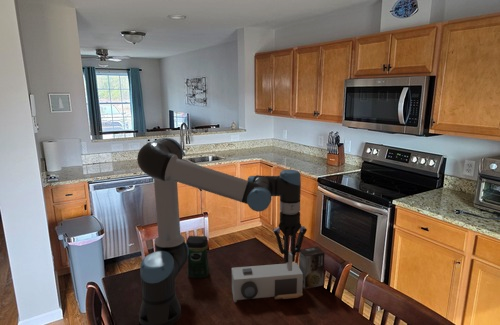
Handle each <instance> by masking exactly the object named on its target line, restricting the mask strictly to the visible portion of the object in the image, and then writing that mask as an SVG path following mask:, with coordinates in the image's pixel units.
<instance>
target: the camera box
mask: <svg viewBox="0 0 500 325" xmlns="http://www.w3.org/2000/svg"><path fill="white" fill-rule="evenodd" d="M231 292H232V298H233V302H234V303H238V301H242V300H253V299H262V298H271V297H272V298H273V297H274V298H275V297H276V296H278V295H286V294H297V293H303V273H302V271H301V270H300V268H299V264H298V263H297V262H292V271H288V269H287V262H285V263H278V264H277V263H276V264H265V265H252V266H251V265H250V266H236V267H231Z"/></svg>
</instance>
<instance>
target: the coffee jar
mask: <svg viewBox="0 0 500 325" xmlns="http://www.w3.org/2000/svg"><path fill="white" fill-rule="evenodd" d="M185 243H186V244H187V245H188V249H189V255H188V258H187V276H188V277H189V278H190V279H204V278H206V277H208V276H209V274H210V267H209V259H208V247H209V241H208V237H207V236H206V235H203V236H202V235H201V236H200V235H189V236H188V237H187V238H186V242H185Z"/></svg>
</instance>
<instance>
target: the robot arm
mask: <svg viewBox="0 0 500 325" xmlns="http://www.w3.org/2000/svg"><path fill="white" fill-rule="evenodd" d="M183 158H184V149H183V148H182V145H181V144H180V142H178V141H177V140H176V139H174V138H171V137H161V138H158V139H156V140H154V141H153V140H152V141H150V142H148V143H146V144H144V145H143V146H142V147H141V148H140V149H139V151H138V153H137V165H138V167H139V169H140V170H141V171H142V172H143V174H145V175H147V176H149V177H150V178H152V179H153V184H154V196H155V197H154V199H155V211H156V212H155V213H156V221H157V222H156V223H157V224H156V225H157V236H158V237H157V238H156V239H155V240H154V248H155V249H154V250H155V251H154V252H152V253H148V254H147V255H146V256H145V257H143V259H142V260H141V262H140V268H139V269H140V270H139V276H140V283H141V293H142V294H141V295H142V301H141V305H140V308H139V312H138V321H139V324H140V325H174V324H176V323H177V322H178V321H179V320H180V318H181V316H182V308H181V304H180V302H179V300H178V296H177V295H176V283H175V282H176V279H177V277H178V275H179V273H180V271H181V270H182V269H183V267H184V265H185V264H186V262H188V255H189V249H188V245H187V244H186V243H187V242H186V240H185V236H183V235H182V234H181V224H180V222H181V221H180V208H179V206H180V205H179V191H178V190H179V189H178V183H179V184H183V185H184V186H185V185H186V186H190V187H192V188H195V189H199V190H202V191H205V192H207V193H210V194H211V193H212V194H214V195H218V196H220V197H223V198H227V199H230V200H233V201H236V202H240V203H242V204H245V205H247V206H248V207H249V209H250V210H252V211H253V212H257V213H258V212H259V213H260V212H264V211H265V210H267V209H268V208H269V206H270V204H271V202H272V197H279V224H278V226H277V227H276V228H273V229H272V231H273V234H274V235H275V239H276V242H277V246H278V249H279V252H280V253H281V255H284V256H283V259H284V262H285V263H287V269H288V271H292V263H295V261H296V255H297V253H298V254H299V252H300V249H302V244H303V241H304V237H305V234H306V233H307V232H308V229H307V228H306V227H305V226H303V225H302V224H301V212H300V211H301V189H302V187H301V186H302V183H301V182H302V178H301V172H300V171H298V170H296V169H283V170H281V171H279V175H259V174H256V175H250V176H248V177H247V179H243V178H241V177H238V176H234V175H233V174H232V175H231V174H228V173H224V172H222V171H218V170H216V169H213V168H210V167H206V166H202V165H200V164H196V163H193V162H190V161H187V160H183ZM281 232H282V234H283V243H282V239H281V236H280V234H281ZM297 233H298V234H297ZM296 237H297V238H296ZM289 245H290V246H289ZM289 250H290V251H289Z"/></svg>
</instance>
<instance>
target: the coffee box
mask: <svg viewBox="0 0 500 325" xmlns="http://www.w3.org/2000/svg"><path fill="white" fill-rule="evenodd" d="M298 254H299V256H298V263H299V264H298V266H299V268H300V270H301V271H302V273H303V286H302V288H303V289H305V290H306V289H311V288H317V287H321V286H324V285H325V284H324V280H325V278H324V277H325V252H324V251H323V250H322V249H321V247H319V246H318V245H317V246H312V247H307V248H301V249H300V252H299V253H298Z"/></svg>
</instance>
